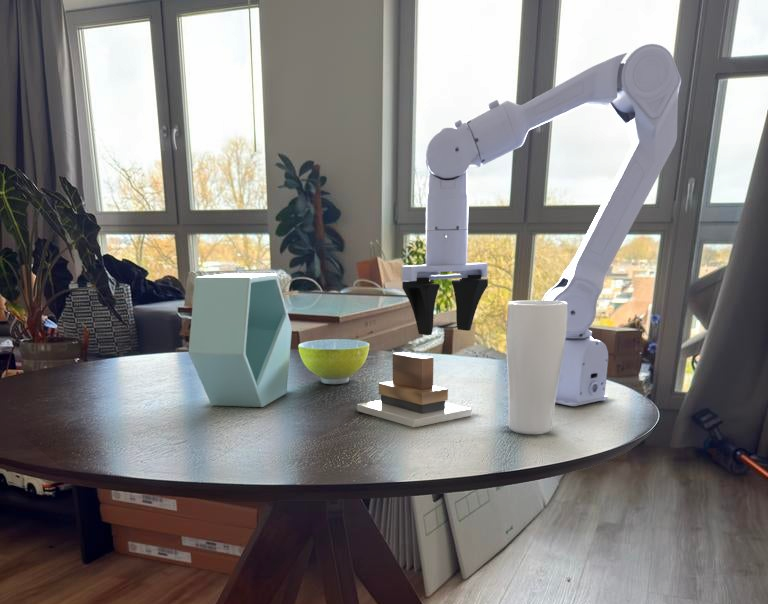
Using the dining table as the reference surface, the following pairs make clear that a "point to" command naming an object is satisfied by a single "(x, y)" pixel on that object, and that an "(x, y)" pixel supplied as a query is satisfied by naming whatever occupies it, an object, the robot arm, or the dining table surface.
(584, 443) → the dining table surface
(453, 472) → the dining table surface
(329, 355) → the bowl
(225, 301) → the planter
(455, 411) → the tile
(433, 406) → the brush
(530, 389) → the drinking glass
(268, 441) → the dining table surface
